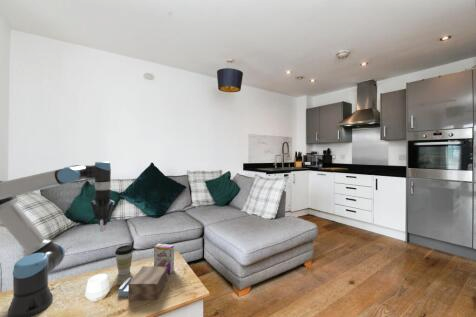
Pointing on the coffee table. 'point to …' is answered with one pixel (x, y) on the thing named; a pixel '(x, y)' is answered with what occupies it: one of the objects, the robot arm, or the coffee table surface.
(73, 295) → the coffee table surface
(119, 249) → the coffee cup
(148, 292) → the wooden box
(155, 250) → the candy bar box
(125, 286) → the tray
